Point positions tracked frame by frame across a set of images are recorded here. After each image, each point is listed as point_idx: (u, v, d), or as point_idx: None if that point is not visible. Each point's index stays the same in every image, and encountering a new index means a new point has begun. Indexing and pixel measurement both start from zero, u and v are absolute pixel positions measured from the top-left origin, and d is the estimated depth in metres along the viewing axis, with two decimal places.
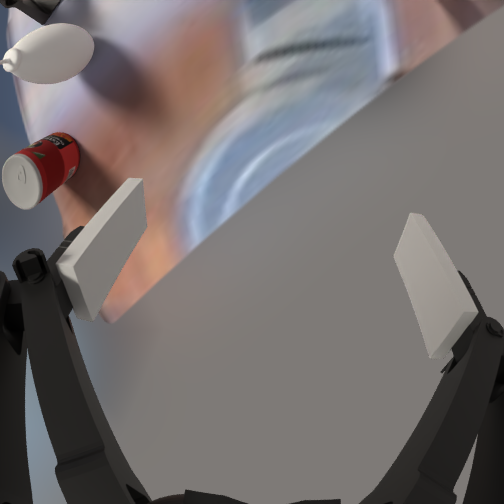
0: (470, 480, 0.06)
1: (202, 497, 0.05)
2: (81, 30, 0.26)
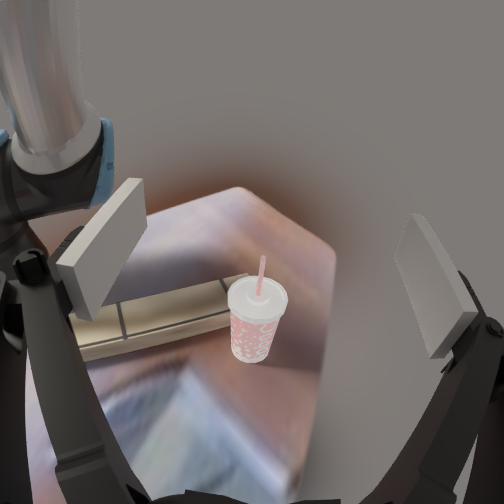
0: (470, 480, 0.06)
1: (202, 497, 0.05)
2: None
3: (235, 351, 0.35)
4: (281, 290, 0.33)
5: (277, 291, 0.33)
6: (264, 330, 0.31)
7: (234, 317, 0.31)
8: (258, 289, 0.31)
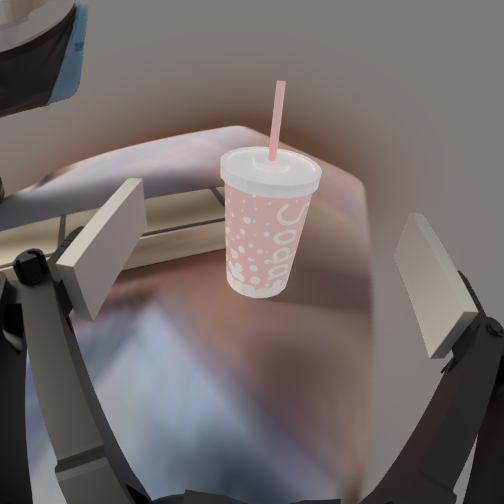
0: (470, 480, 0.06)
1: (202, 497, 0.05)
2: None
3: (233, 277, 0.22)
4: (308, 161, 0.19)
5: (303, 162, 0.19)
6: (284, 218, 0.18)
7: (231, 196, 0.18)
8: (272, 146, 0.18)
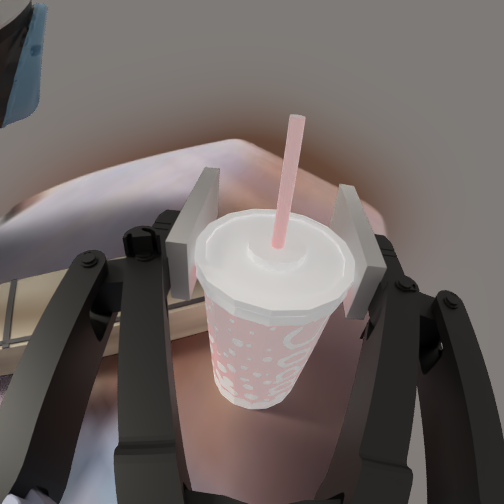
0: (426, 458, 0.07)
1: (202, 497, 0.05)
2: None
3: (221, 385, 0.15)
4: (333, 239, 0.13)
5: (325, 241, 0.13)
6: (295, 342, 0.11)
7: (213, 307, 0.12)
8: (279, 227, 0.11)
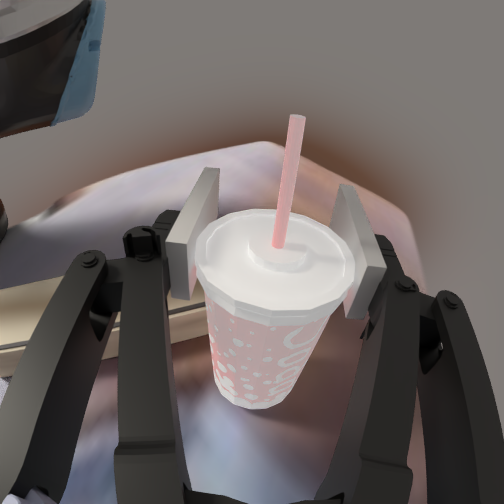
0: (427, 458, 0.07)
1: (202, 497, 0.05)
2: None
3: (221, 385, 0.15)
4: (333, 239, 0.13)
5: (325, 241, 0.13)
6: (295, 342, 0.11)
7: (213, 307, 0.12)
8: (279, 227, 0.11)
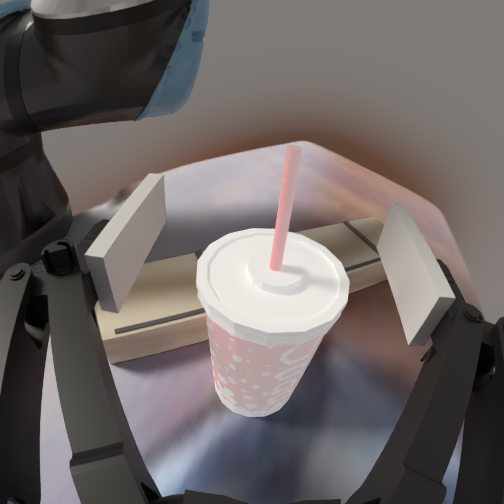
0: (459, 473, 0.06)
1: (202, 497, 0.05)
2: None
3: (222, 395, 0.16)
4: (329, 259, 0.13)
5: (321, 261, 0.13)
6: (291, 358, 0.12)
7: (214, 326, 0.12)
8: (276, 251, 0.12)
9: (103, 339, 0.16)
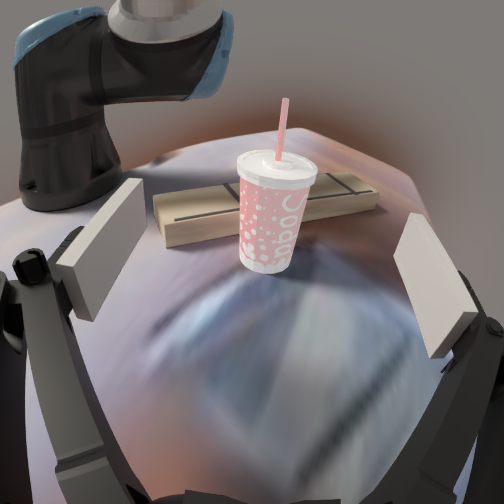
0: (470, 480, 0.06)
1: (202, 497, 0.05)
2: None
3: (245, 255, 0.27)
4: (307, 161, 0.24)
5: (302, 162, 0.24)
6: (288, 206, 0.23)
7: (246, 189, 0.23)
8: (278, 149, 0.22)
9: (166, 224, 0.27)
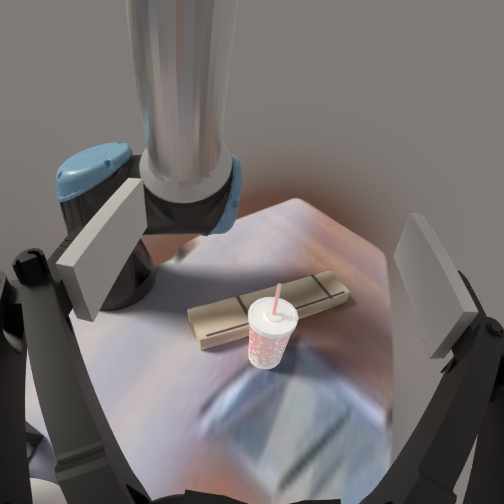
0: (470, 480, 0.06)
1: (202, 497, 0.05)
2: None
3: (252, 359, 0.41)
4: (292, 309, 0.39)
5: (289, 310, 0.39)
6: (278, 342, 0.37)
7: (253, 332, 0.37)
8: (274, 309, 0.37)
9: (201, 339, 0.42)
